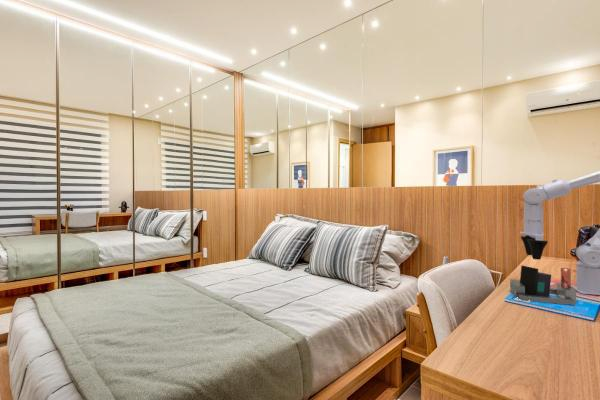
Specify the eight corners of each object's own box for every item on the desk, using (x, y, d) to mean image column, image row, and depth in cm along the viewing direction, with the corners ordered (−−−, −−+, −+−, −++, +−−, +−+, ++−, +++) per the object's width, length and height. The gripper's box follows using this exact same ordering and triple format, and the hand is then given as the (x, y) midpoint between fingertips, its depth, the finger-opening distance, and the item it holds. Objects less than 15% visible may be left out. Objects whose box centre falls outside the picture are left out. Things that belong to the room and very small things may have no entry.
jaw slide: (565, 295, 101) (565, 266, 100) (576, 303, 93) (576, 272, 93) (556, 294, 102) (555, 265, 101) (565, 302, 94) (565, 271, 94)
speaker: (530, 300, 97) (532, 268, 97) (518, 295, 103) (519, 265, 103) (554, 302, 97) (556, 270, 97) (541, 297, 103) (542, 267, 103)
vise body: (559, 293, 103) (559, 281, 103) (574, 305, 92) (574, 292, 92) (508, 288, 109) (508, 277, 109) (517, 299, 98) (517, 287, 98)
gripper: (515, 218, 120) (515, 252, 121) (525, 222, 107) (525, 260, 107) (537, 219, 118) (537, 253, 118) (550, 222, 104) (550, 261, 105)
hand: (533, 257), depth 112 cm, fingers open, 7 cm apart
